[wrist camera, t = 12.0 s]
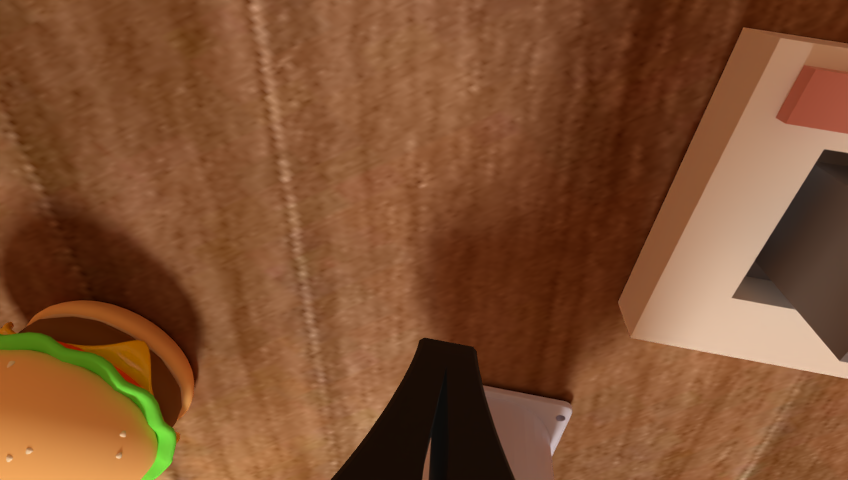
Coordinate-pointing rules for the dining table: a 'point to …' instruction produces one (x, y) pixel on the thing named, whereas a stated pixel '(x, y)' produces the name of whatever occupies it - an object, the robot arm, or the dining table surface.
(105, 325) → the hamburger
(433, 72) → the dining table surface
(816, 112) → the socket
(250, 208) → the dining table surface
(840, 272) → the plug
